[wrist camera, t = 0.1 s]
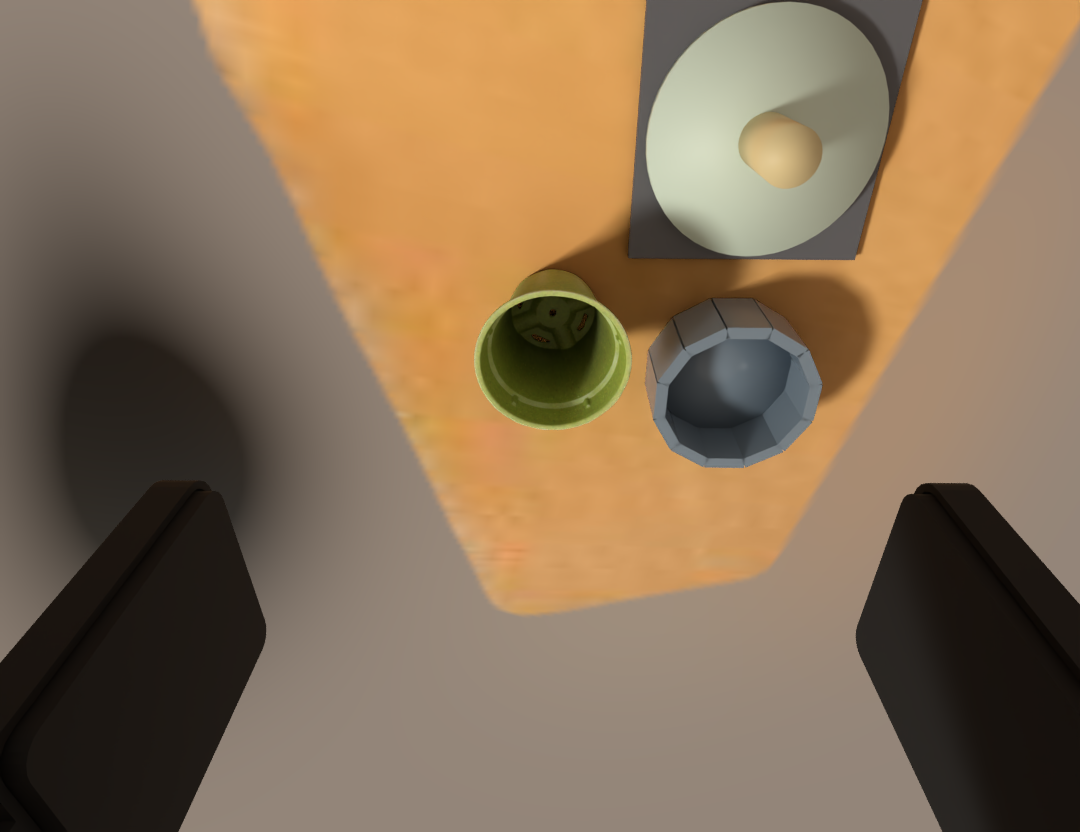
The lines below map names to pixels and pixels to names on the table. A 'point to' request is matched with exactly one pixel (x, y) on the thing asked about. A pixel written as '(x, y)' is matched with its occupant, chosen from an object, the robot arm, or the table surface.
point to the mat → (670, 27)
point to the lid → (767, 128)
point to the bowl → (731, 383)
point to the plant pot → (552, 354)
